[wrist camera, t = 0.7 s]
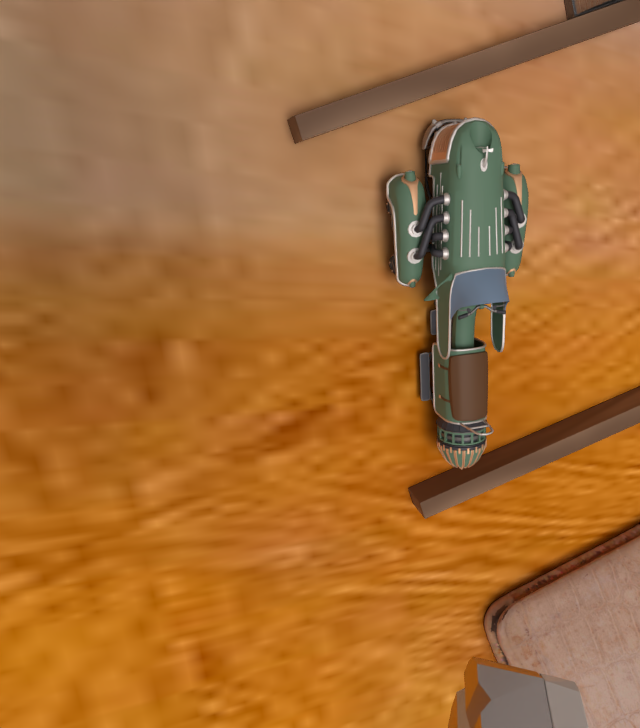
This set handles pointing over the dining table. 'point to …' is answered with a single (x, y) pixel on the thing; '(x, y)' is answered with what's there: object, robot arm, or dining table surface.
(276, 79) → the dining table surface
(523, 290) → the dining table surface
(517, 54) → the brown flat square frame
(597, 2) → the grey holder box
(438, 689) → the dining table surface
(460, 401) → the hoverbike
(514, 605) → the case
